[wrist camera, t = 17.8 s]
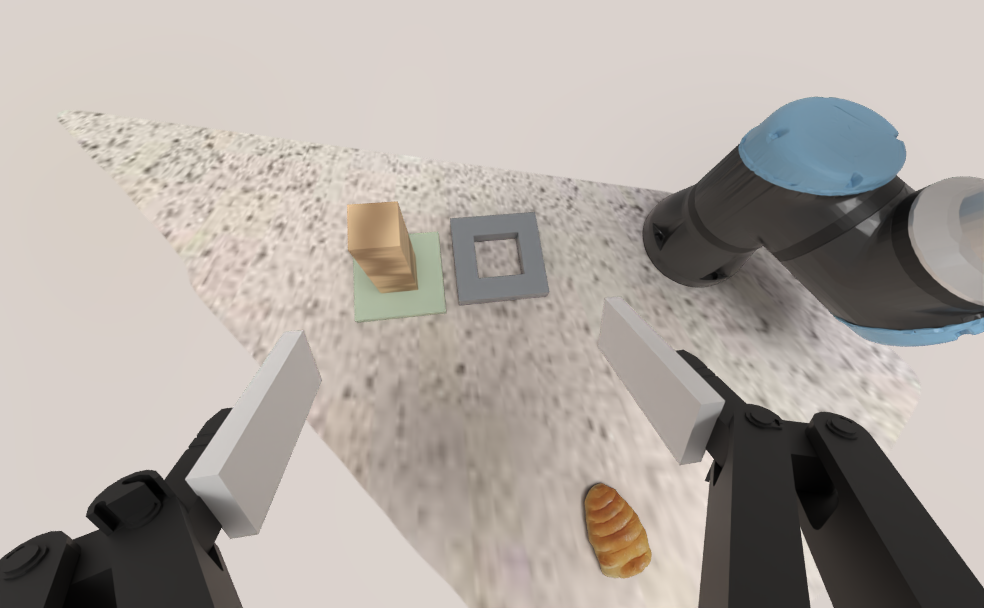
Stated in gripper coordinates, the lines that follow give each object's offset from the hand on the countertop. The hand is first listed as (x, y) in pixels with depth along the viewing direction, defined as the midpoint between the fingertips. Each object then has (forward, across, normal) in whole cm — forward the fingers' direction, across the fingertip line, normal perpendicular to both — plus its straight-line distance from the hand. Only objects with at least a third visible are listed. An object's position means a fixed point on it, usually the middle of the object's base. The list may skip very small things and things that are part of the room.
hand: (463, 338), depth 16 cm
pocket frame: (+34, +7, -11) cm, 36 cm away
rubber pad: (+33, -8, -11) cm, 36 cm away
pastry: (+9, +16, -37) cm, 41 cm away
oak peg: (+33, -7, -11) cm, 35 cm away
